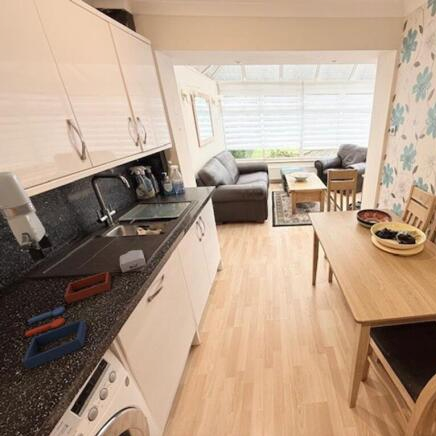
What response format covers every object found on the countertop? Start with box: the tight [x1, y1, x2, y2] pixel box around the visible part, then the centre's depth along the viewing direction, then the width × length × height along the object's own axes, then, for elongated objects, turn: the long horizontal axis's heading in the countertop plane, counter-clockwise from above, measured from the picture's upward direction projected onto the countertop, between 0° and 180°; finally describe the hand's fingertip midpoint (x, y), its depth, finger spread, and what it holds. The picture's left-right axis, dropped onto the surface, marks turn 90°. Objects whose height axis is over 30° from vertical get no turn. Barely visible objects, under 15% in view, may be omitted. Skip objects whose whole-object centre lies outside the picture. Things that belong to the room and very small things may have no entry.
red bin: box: [63, 270, 112, 305], centre depth 96 cm, size 13×9×4 cm
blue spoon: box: [27, 306, 66, 325], centre depth 85 cm, size 10×4×2 cm, turn 122°
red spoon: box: [24, 317, 66, 338], centre depth 80 cm, size 10×4×2 cm, turn 122°
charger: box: [119, 249, 147, 273], centre depth 112 cm, size 5×9×15 cm
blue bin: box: [22, 318, 88, 370], centre depth 72 cm, size 12×9×4 cm
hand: (44, 253), depth 86 cm, fingers open, 9 cm apart
